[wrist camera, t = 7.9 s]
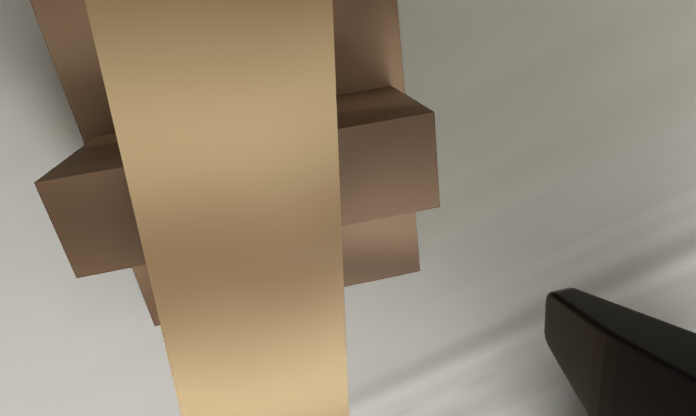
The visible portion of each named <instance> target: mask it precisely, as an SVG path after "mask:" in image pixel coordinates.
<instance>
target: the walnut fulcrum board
mask: <svg viewBox="0 0 696 416" xmlns="http://www.w3.org/2000/svg"><path fill="white" fill-rule="evenodd" d="M332 1H333V26H334V52H335V77H336V102H337V128H338V153H339V178H340V203H341V229H342V254H343V279H344V287H346V286H350V285H355V284H360V283H365V282H370V281H375V280H379V279H384V278H389V277H394V276H399V275H403V274H408V273H413V272H418V271H420V264H419V253H418V241H417V229H416V217H415V212H417V211H422V210H427V209H432V208H437V207H440V201H439V184H438V168H437V151H436V135H435V118H434V112H433V111H431V110H430V109H428V108H427V107H425V106H423V105H422V104H420V103H418V102H417V101H415V100H413V99H412V98H410V97H409V96H407V95H405V89H404V77H403V65H402V53H401V42H400V30H399V18H398V7H397V0H332ZM30 2H31V5H32V8H33V10H34V13H35V15H36V18H37V21H38V23H39V26H40V28H41V31H42V34H43V36H44V39H45V41H46V44H47V47H48V49H49V52H50V54H51V57H52V60H53V62H54V65H55V67H56V70H57V73H58V75H59V78H60V81H61V83H62V86H63V88H64V91H65V94H66V96H67V99H68V101H69V104H70V107H71V109H72V112H73V114H74V117H75V120H76V122H77V125H78V127H79V130H80V133H81V135H82V138H83V140H84V143H85V145H84V146H83V147H81V148H80V149H79V150H77V151H76V152H75V153H73V154H72V155H71V156H69V157H68V158H67V159H65V160H64V161H63V162H61V163H60V164H59V165H57V166H56V167H55V168H53V169H52V170H51V171H49V172H48V173H47V174H45V175H44V176H43V177H41V178H40V179H39V180H37V181H36V182H34V184H35V186H36V188H37V190H38V193H39V195H40V197H41V199H42V202H43V204H44V206H45V208H46V211H47V213H48V215H49V217H50V220H51V222H52V224H53V226H54V228H55V231H56V233H57V235H58V237H59V240H60V242H61V244H62V246H63V249H64V251H65V253H66V255H67V258H68V260H69V262H70V264H71V267H72V269H73V271H74V273H75V276H76V278H80V277H85V276H90V275H95V274H100V273H106V272H111V271H116V270H121V269H126V268H131V267H132V268H133V271H134V273H135V276H136V279H137V281H138V284H139V286H140V289H141V292H142V294H143V297H144V299H145V302H146V305H147V307H148V310H149V312H150V315H151V318H152V320H153V323H154V325H155V326H158V325H160V321H159V317H158V312H157V308H156V304H155V299H154V295H153V291H152V287H151V282H150V278H149V274H148V269H147V265H146V261H145V257H144V252H143V248H142V244H141V239H140V235H139V231H138V227H137V222H136V218H135V214H134V209H133V205H132V201H131V197H130V192H129V188H128V184H127V179H126V175H125V171H124V167H123V162H122V158H121V154H120V149H119V145H118V141H117V137H116V132H115V128H114V124H113V119H112V115H111V111H110V107H109V102H108V98H107V94H106V89H105V85H104V81H103V76H102V72H101V68H100V64H99V59H98V55H97V51H96V46H95V42H94V38H93V34H92V29H91V25H90V21H89V16H88V12H87V8H86V4H85V0H30Z"/></svg>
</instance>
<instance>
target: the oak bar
mask: <svg viewBox="0 0 696 416" xmlns="http://www.w3.org/2000/svg"><path fill="white" fill-rule="evenodd" d="M85 4H86V8H87V12H88V16H89V21H90V25H91V29H92V34H93V38H94V42H95V46H96V51H97V55H98V59H99V64H100V68H101V72H102V76H103V81H104V85H105V89H106V94H107V98H108V102H109V107H110V111H111V115H112V119H113V124H114V128H115V132H116V137H117V141H118V145H119V149H120V154H121V158H122V162H123V167H124V171H125V175H126V179H127V184H128V188H129V192H130V197H131V201H132V205H133V209H134V214H135V218H136V222H137V227H138V231H139V235H140V239H141V244H142V248H143V252H144V257H145V261H146V265H147V269H148V274H149V278H150V282H151V287H152V291H153V295H154V299H155V304H156V308H157V312H158V317H159V321H160V325H161V329H162V334H163V338H164V342H165V347H166V351H167V355H168V360H169V364H170V368H171V372H172V377H173V381H174V385H175V390H176V394H177V398H178V402H179V407H180V411H181V415H182V416H349V406H348V380H347V355H346V330H345V305H344V279H343V254H342V229H341V203H340V178H339V153H338V128H337V102H336V77H335V52H334V26H333V1H332V0H85Z"/></svg>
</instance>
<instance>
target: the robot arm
mask: <svg viewBox="0 0 696 416" xmlns="http://www.w3.org/2000/svg"><path fill="white" fill-rule="evenodd" d="M544 333H545V338H546V341H547V344H548V346H549V348H550V350H551V352H552V353H553V355H554V357H555V359H556V360H557V362H558V364H559V366H560V367H561V369H562V371H563V373H564V374H565V376H566V378H567V380H568V381H569V383H570V385H571V387H572V389H573V390H574V392H575V394H576V396H577V397H578V399H579V401H580V403H581V404H582V406H583V408H584V410H585V411H586V413H587V415H588V416H696V333H694V332H691V331H688V330H685V329H683V328H680V327H677V326H675V325H672V324H669V323H667V322H664V321H661V320H658V319H656V318H653V317H650V316H648V315H645V314H642V313H640V312H637V311H634V310H631V309H629V308H626V307H623V306H621V305H618V304H615V303H613V302H610V301H607V300H604V299H602V298H599V297H596V296H594V295H591V294H588V293H586V292H583V291H580V290H577V289H574V288H567V289H562V290H557V291H553V292H550V293H549V294H548V295H547V297H546V304H545V327H544Z"/></svg>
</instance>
